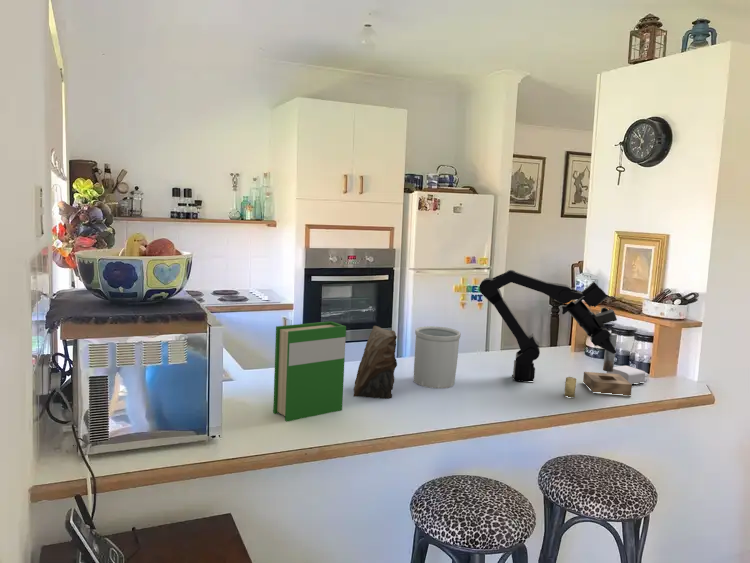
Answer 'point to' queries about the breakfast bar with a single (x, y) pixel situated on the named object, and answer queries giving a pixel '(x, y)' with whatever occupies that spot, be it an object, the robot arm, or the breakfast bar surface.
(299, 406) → the hardback book
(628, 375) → the charger
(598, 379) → the walnut hole block
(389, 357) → the brown rock
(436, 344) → the utensil holder
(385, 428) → the breakfast bar surface
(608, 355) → the long steel pin
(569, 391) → the short brass pin
